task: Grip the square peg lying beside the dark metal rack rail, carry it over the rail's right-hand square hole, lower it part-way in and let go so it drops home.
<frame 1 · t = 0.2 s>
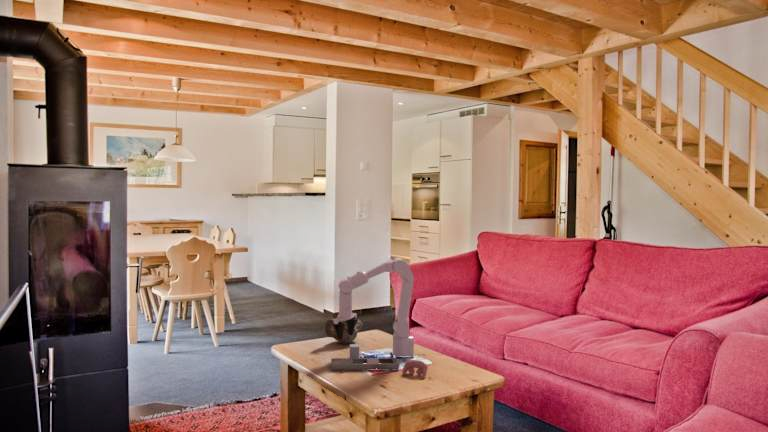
hand: (345, 336, 246), 9 cm above the table, fingers open, 7 cm apart
rail: (364, 367, 234), on the table
peg: (354, 358, 245), on the table
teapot: (344, 343, 269), on the table
video game controller: (414, 375, 226), on the table
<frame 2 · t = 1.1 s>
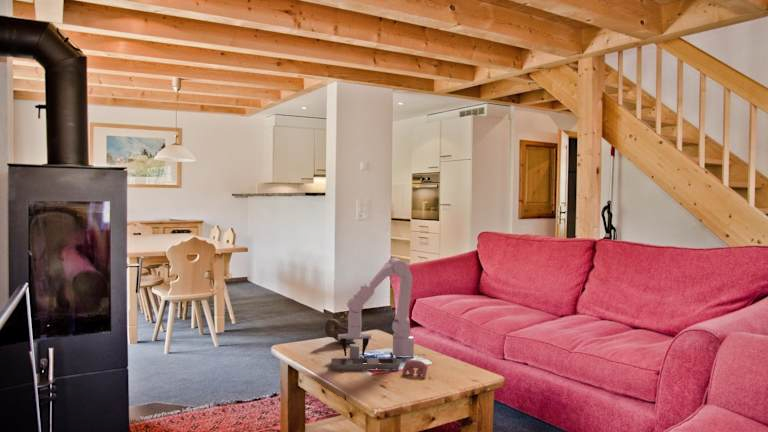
hand: (354, 355, 245), 1 cm above the table, fingers open, 7 cm apart
nothing on the table moved.
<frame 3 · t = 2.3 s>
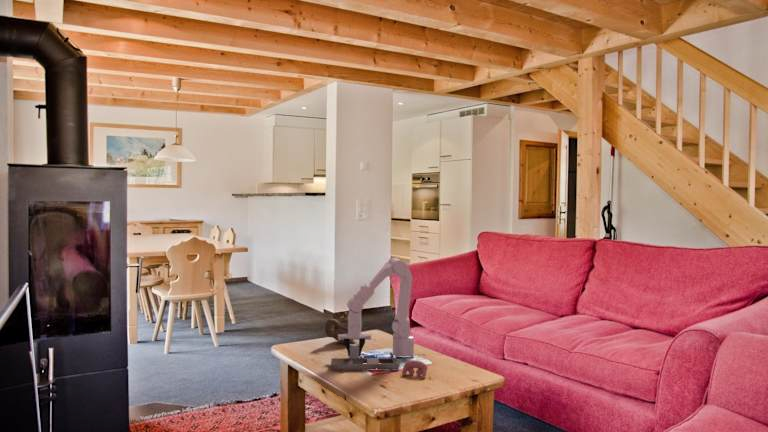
hand: (354, 355, 245), 1 cm above the table, fingers closed on peg, 4 cm apart
peg: (354, 358, 245), on the table, touching gripper
everything else where it was.
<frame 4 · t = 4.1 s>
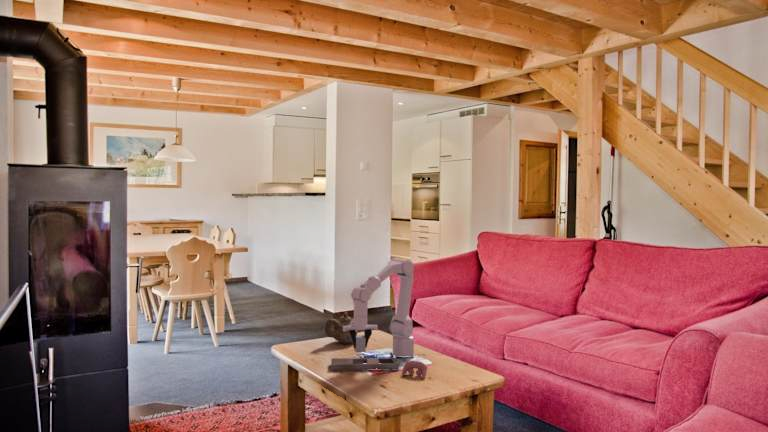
hand: (359, 347, 234), 8 cm above the table, fingers closed on peg, 4 cm apart
peg: (359, 350, 234), point 7 cm above the table, touching gripper
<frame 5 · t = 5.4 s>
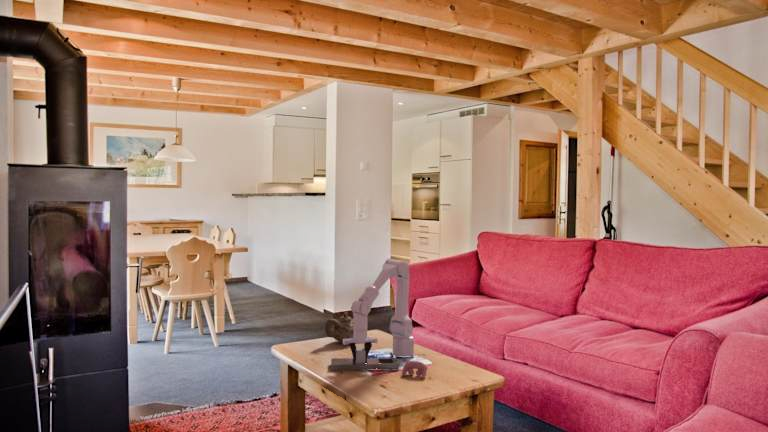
hand: (359, 360, 234), 3 cm above the table, fingers closed on peg, 4 cm apart
peg: (359, 363, 234), point 1 cm above the table, touching gripper
when the fingers open (3 cm above the table, at t = 6.3 s): peg drops 1 cm, resting in rail.
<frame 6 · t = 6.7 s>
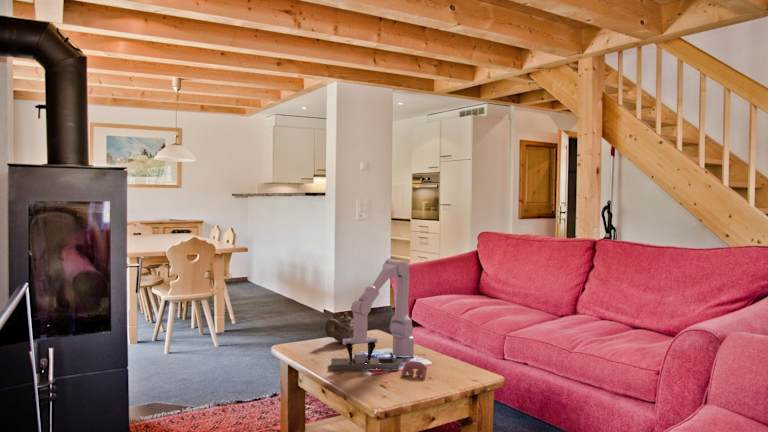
hand: (359, 360, 234), 3 cm above the table, fingers open, 7 cm apart
peg: (359, 367, 234), resting in rail
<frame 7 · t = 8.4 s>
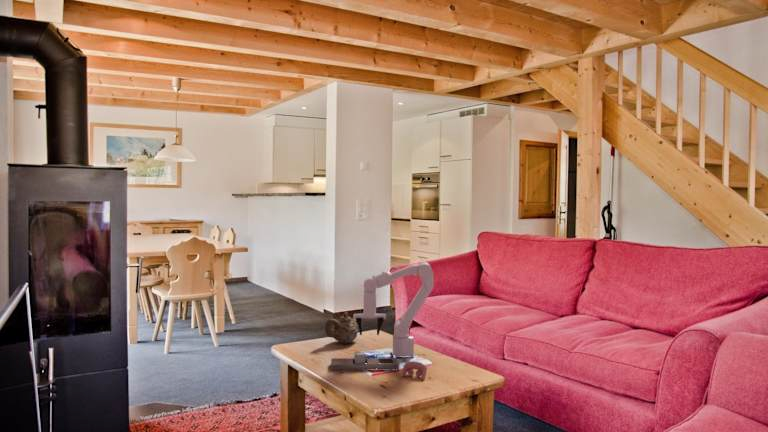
hand: (369, 334, 250), 9 cm above the table, fingers open, 7 cm apart
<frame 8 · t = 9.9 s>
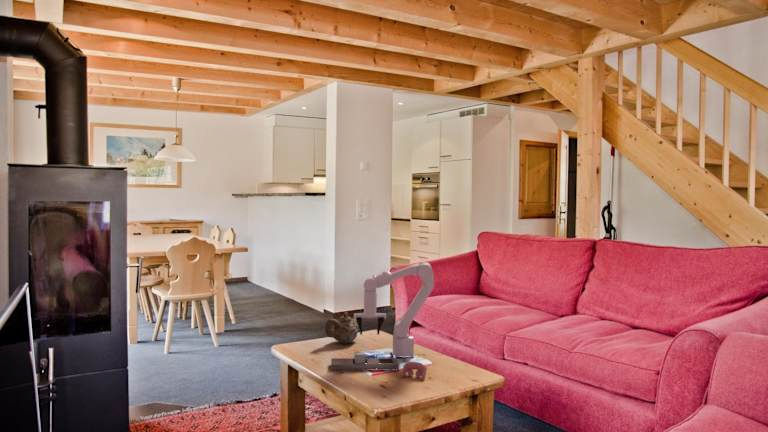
hand: (369, 333, 251), 9 cm above the table, fingers open, 7 cm apart
at the end: peg 0.2 cm from the target spot on the rail, point 0.0 cm above the rail's base; peg tilted 0°; the gripper is holding nothing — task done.
